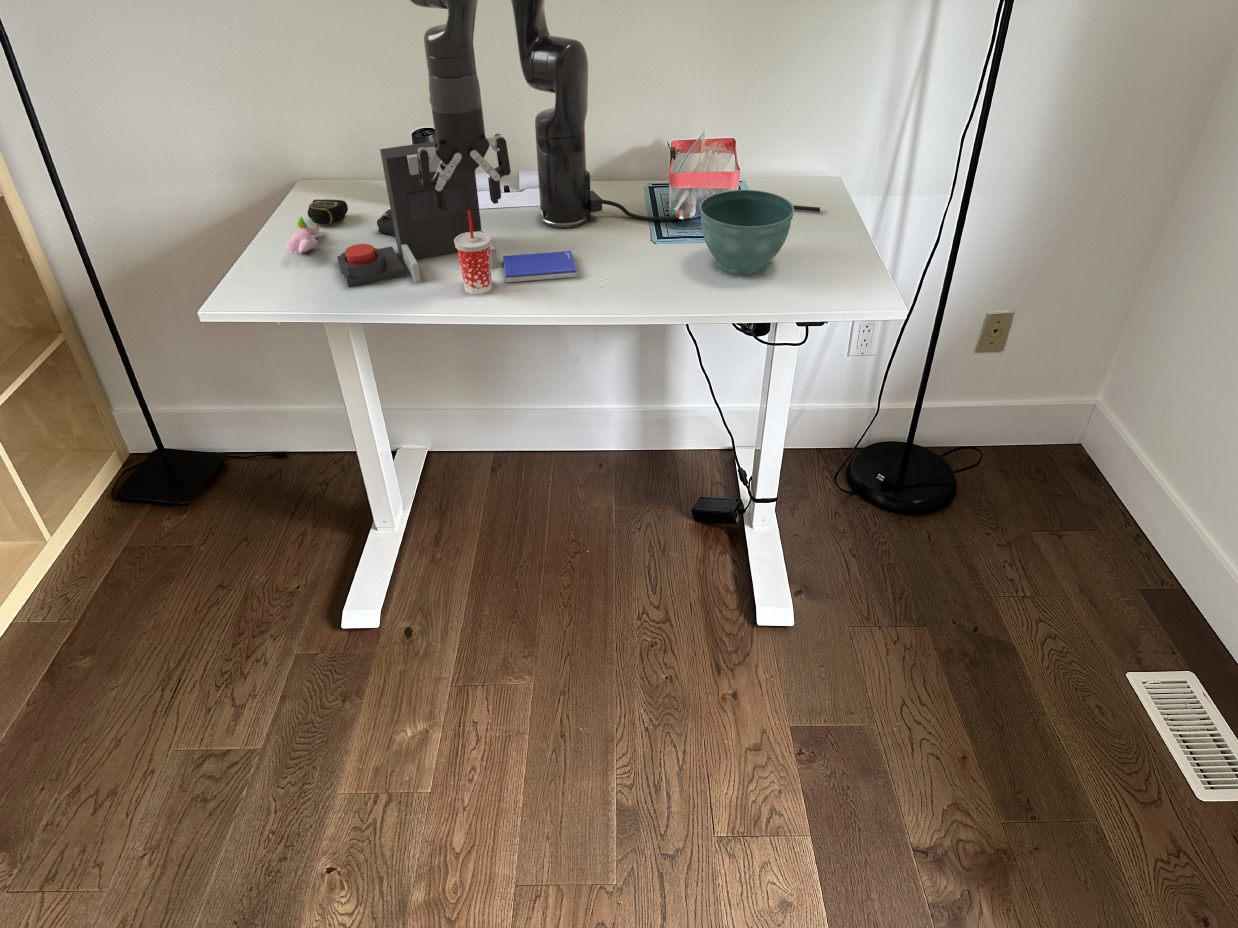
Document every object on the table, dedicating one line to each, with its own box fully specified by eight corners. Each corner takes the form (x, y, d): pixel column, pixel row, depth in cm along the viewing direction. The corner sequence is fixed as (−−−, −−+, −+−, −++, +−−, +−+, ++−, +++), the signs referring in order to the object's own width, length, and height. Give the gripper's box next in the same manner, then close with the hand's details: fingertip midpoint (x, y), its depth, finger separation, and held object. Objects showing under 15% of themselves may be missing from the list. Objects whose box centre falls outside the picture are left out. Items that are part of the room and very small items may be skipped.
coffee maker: (476, 237, 166) (464, 137, 154) (497, 266, 156) (486, 162, 144) (398, 251, 161) (379, 149, 149) (415, 282, 151) (397, 175, 139)
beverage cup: (486, 298, 147) (477, 220, 138) (454, 293, 148) (443, 215, 139) (501, 282, 151) (494, 205, 142) (470, 277, 153) (460, 201, 144)
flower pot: (685, 276, 153) (687, 218, 146) (711, 240, 164) (715, 184, 158) (774, 292, 148) (782, 232, 141) (795, 253, 160) (803, 196, 153)
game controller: (407, 236, 164) (382, 213, 162) (392, 253, 167) (367, 230, 165) (426, 215, 171) (402, 193, 169) (411, 232, 174) (387, 210, 172)
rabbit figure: (296, 241, 168) (279, 263, 155) (290, 210, 165) (272, 230, 152) (329, 239, 168) (315, 261, 155) (323, 208, 165) (308, 228, 153)
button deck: (393, 254, 160) (390, 236, 158) (406, 277, 153) (403, 259, 151) (336, 264, 157) (332, 246, 155) (346, 289, 150) (342, 270, 147)
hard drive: (571, 249, 158) (502, 254, 156) (576, 269, 152) (505, 275, 150) (571, 257, 159) (503, 263, 157) (576, 277, 152) (506, 283, 151)
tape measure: (351, 215, 174) (347, 197, 172) (340, 229, 169) (336, 210, 167) (317, 214, 175) (313, 196, 172) (306, 228, 169) (301, 210, 167)
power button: (373, 250, 154) (371, 241, 153) (378, 262, 151) (377, 253, 150) (344, 256, 153) (342, 246, 152) (349, 267, 149) (347, 258, 148)
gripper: (415, 117, 125) (432, 223, 136) (509, 103, 130) (518, 207, 140) (403, 102, 131) (420, 205, 141) (494, 90, 135) (504, 191, 145)
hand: (469, 206), depth 141 cm, fingers open, 8 cm apart
